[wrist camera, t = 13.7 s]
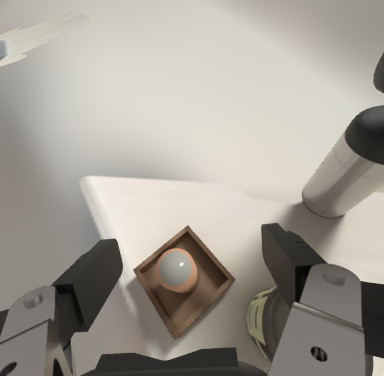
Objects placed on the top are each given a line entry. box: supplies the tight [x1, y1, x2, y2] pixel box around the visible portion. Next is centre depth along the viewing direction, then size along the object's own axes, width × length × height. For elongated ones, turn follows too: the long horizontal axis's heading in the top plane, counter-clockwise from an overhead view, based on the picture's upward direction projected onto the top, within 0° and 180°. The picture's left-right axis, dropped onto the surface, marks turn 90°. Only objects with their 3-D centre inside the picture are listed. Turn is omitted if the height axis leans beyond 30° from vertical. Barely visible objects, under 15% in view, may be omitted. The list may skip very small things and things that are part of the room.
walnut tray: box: [133, 226, 235, 340], centre depth 35 cm, size 13×13×4 cm
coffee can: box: [246, 286, 373, 376], centre depth 26 cm, size 10×10×14 cm
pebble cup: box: [156, 248, 200, 294], centre depth 32 cm, size 6×6×10 cm
